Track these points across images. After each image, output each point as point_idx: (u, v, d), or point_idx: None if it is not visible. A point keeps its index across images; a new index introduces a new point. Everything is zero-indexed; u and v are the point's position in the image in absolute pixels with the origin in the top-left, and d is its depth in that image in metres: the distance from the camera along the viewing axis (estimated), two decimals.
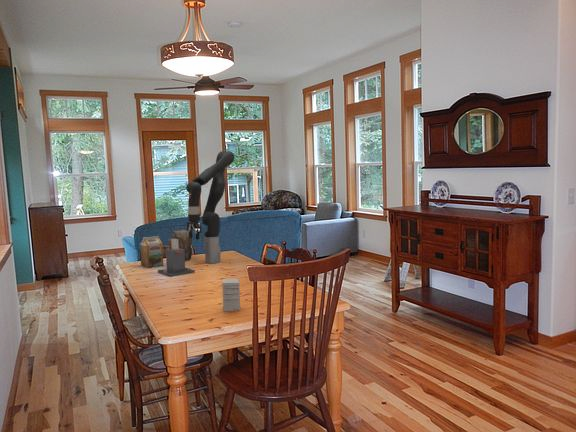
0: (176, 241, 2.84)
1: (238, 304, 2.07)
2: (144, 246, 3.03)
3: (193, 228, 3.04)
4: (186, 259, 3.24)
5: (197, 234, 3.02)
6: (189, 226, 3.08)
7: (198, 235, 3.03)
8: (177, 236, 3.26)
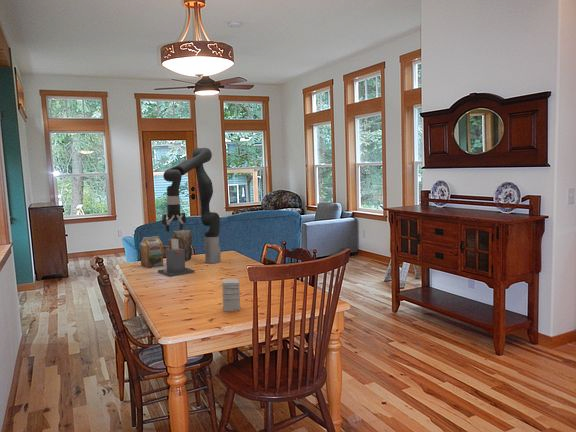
0: (176, 241, 2.84)
1: (238, 304, 2.07)
2: (144, 246, 3.03)
3: (179, 219, 2.84)
4: (186, 259, 3.24)
5: (182, 224, 2.87)
6: (171, 218, 2.81)
7: None
8: (177, 236, 3.26)
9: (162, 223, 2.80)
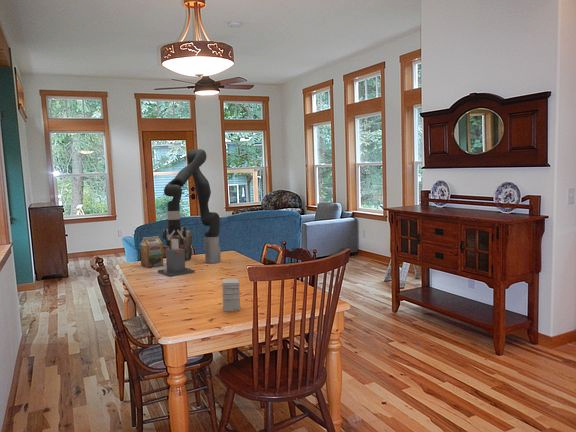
0: (176, 241, 2.84)
1: (238, 304, 2.07)
2: (144, 246, 3.03)
3: (179, 233, 2.85)
4: (186, 259, 3.24)
5: None
6: (171, 233, 2.82)
7: (182, 240, 2.89)
8: (177, 236, 3.26)
9: (163, 238, 2.81)
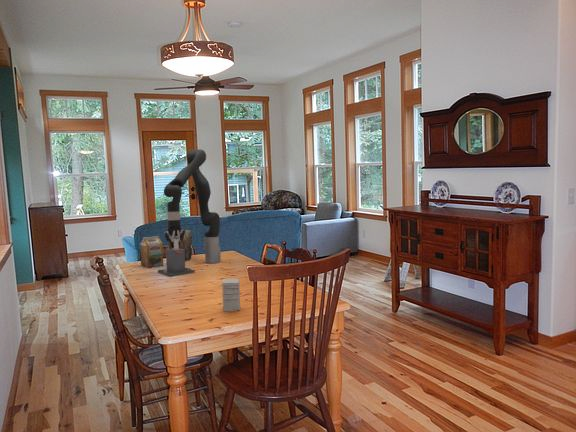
0: (176, 241, 2.84)
1: (238, 304, 2.07)
2: (144, 246, 3.03)
3: (177, 235, 2.84)
4: (186, 259, 3.24)
5: (179, 241, 2.87)
6: (172, 234, 2.82)
7: None
8: None
9: (167, 240, 2.83)
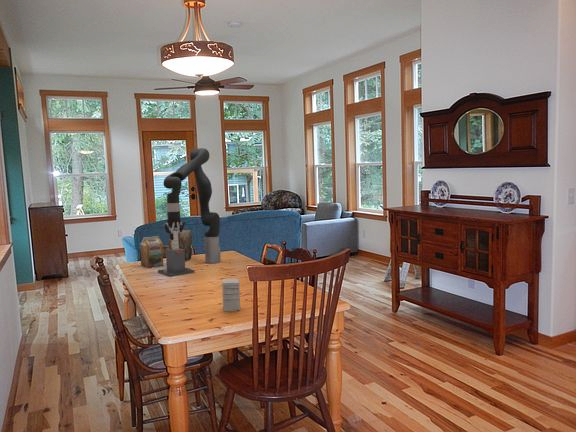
0: (176, 233, 2.84)
1: (238, 304, 2.07)
2: (144, 246, 3.03)
3: (177, 226, 2.84)
4: (186, 259, 3.24)
5: None
6: (172, 226, 2.82)
7: None
8: None
9: None
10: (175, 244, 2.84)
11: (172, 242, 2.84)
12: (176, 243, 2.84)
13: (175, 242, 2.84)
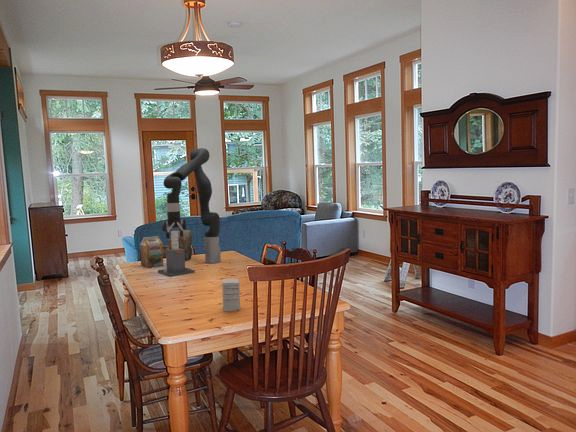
0: (176, 233, 2.84)
1: (238, 304, 2.07)
2: (144, 246, 3.03)
3: (179, 226, 2.85)
4: (186, 259, 3.24)
5: None
6: (171, 225, 2.81)
7: (182, 232, 2.88)
8: None
9: (162, 230, 2.80)
10: (175, 244, 2.84)
11: (172, 242, 2.84)
12: (176, 243, 2.84)
13: (175, 242, 2.84)
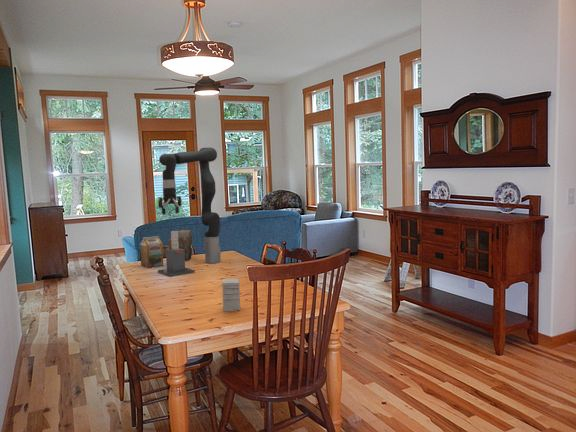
0: (176, 233, 2.84)
1: (238, 304, 2.07)
2: (144, 246, 3.03)
3: (174, 202, 2.90)
4: (186, 259, 3.24)
5: (178, 207, 2.93)
6: (167, 201, 2.86)
7: None
8: None
9: (158, 206, 2.85)
10: (175, 244, 2.84)
11: (172, 242, 2.84)
12: (176, 243, 2.84)
13: (175, 242, 2.84)
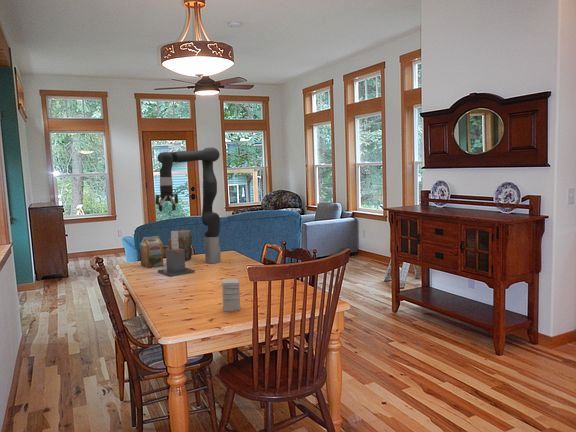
0: (176, 233, 2.84)
1: (238, 304, 2.07)
2: (144, 246, 3.03)
3: (171, 199, 2.96)
4: (186, 259, 3.24)
5: None
6: (163, 198, 2.92)
7: (174, 206, 2.99)
8: None
9: (155, 203, 2.91)
10: (175, 244, 2.84)
11: (172, 242, 2.84)
12: (176, 243, 2.84)
13: (175, 242, 2.84)
